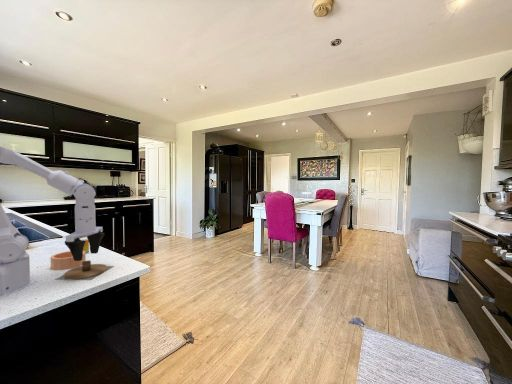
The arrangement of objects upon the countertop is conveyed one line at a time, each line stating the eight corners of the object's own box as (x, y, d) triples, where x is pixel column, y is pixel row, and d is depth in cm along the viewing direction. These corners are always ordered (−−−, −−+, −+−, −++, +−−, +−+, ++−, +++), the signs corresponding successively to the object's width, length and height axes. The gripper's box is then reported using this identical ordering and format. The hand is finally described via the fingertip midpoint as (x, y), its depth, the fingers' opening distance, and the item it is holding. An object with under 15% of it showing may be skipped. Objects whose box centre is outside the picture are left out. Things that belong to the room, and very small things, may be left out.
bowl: (71, 271, 81) (71, 259, 81) (43, 271, 81) (43, 258, 81) (91, 261, 91) (91, 250, 91) (66, 261, 91) (66, 250, 91)
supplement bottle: (92, 253, 102) (91, 231, 102) (79, 256, 97) (79, 234, 97) (83, 251, 104) (82, 231, 103) (70, 255, 98) (70, 233, 98)
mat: (91, 281, 73) (91, 279, 73) (54, 280, 73) (54, 279, 73) (114, 267, 85) (114, 266, 85) (82, 267, 85) (82, 265, 85)
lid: (91, 279, 73) (91, 268, 73) (54, 279, 73) (54, 268, 73) (114, 266, 85) (114, 256, 85) (82, 265, 85) (82, 256, 85)
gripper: (80, 222, 71) (82, 264, 72) (110, 215, 86) (111, 250, 86) (58, 222, 71) (60, 264, 72) (91, 215, 86) (92, 250, 86)
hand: (86, 256), depth 79 cm, fingers open, 7 cm apart
